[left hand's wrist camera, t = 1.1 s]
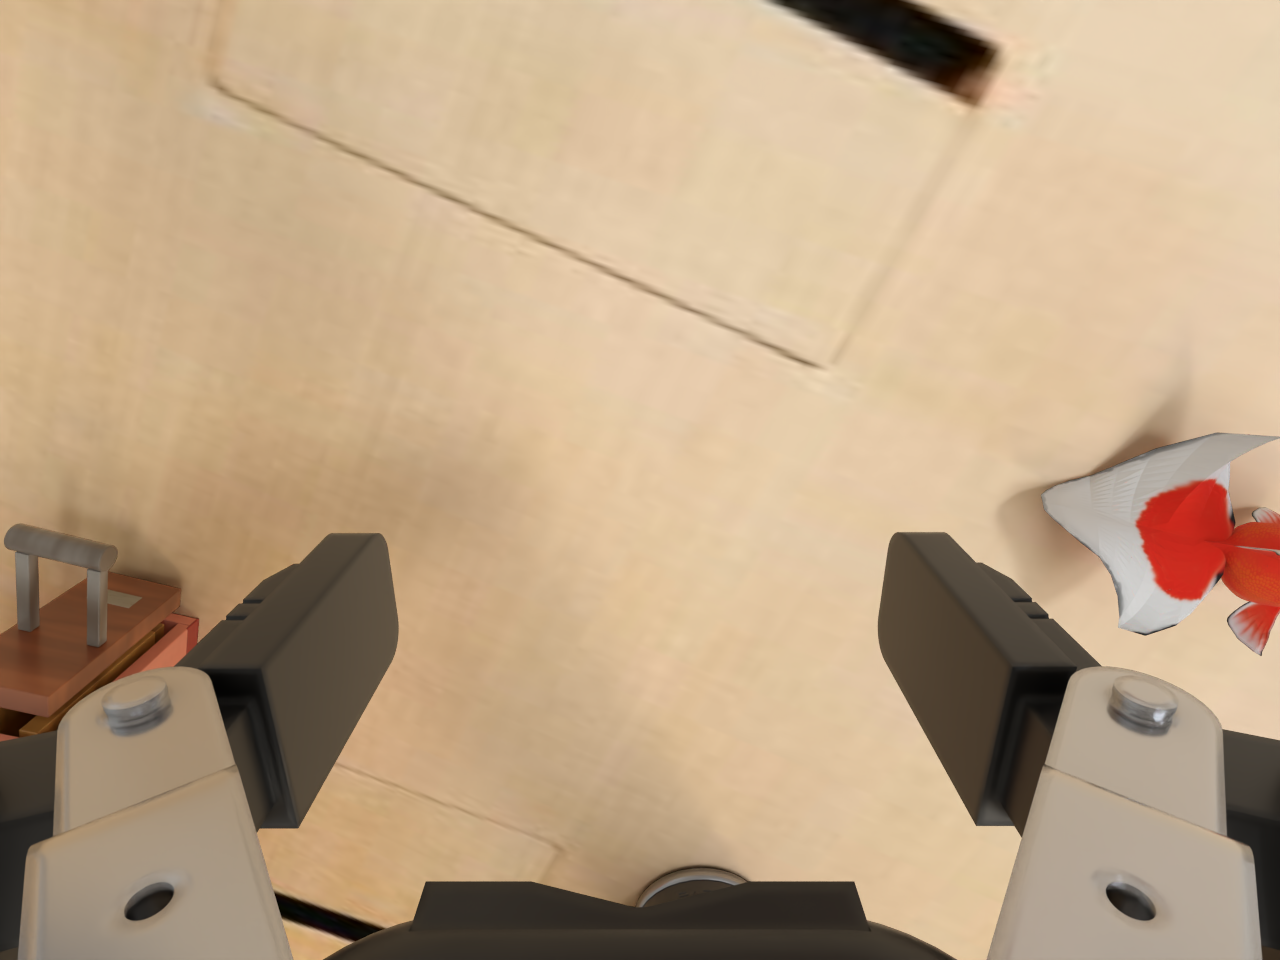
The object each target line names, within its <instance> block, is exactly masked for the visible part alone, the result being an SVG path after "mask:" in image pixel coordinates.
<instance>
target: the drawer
mask: <svg viewBox="0 0 1280 960" xmlns="http://www.w3.org/2000/svg"><path fill="white" fill-rule="evenodd" d="M4 545H5V547H6V548H7V549H9V550H13V551H17V552H15V562H16V590H17V618H18V623H17V624H16V625H14V626H13V627H11V628H10V629H8V630H7V631H5V632H4V633H2V634H1V635H0V734H5V735H10V736H15V737H19V738H21V737H26V736H31V735H36V734H41V733H46V732H51V731H56V730H58V726H59V724H60V722H61V720H62V718H63V717H64V716H65V715H66V713H67V712H68V711H69V710H70V709H71V708H72V707H73V706H74V705H75V704H77V703H78V702H79V701H81V700H82V699H83V698H85V697H86V696H88V695H89V694H91V693H92V692H94V691H96V690H97V689H99V688H101V687H103V686H105V685H107V684H109V683H111V682H112V681H114V680H115V679H116V678H117V677H118V676H119V675H120V674H122V673H123V672H124V671H125V670H126V669H127V668H128V667H129V666H131V665H132V664H133V663H134V662H135V661H136V660H137V659H138V658H140V657H141V656H142V655H143V654H144V653H145V652H146V651H148V650H149V649H150V648H151V647H152V646H153V645H154V644H155V643H157V642H158V641H159V640H160V639H161V638H162V637H163V636H164V624H162V623H160V622H162V621H163V620H164V619H165V618H166V617H167V616H169V615H170V614H171V613H172V612H173V611H175V610H176V609H177V608H178V607H179V606H180V598H181V589H180V588H176V587H171V586H167V585H163V584H159V583H155V582H150V581H146V580H142V579H138V578H134V577H129V576H125V575H121V574H117V573H113V572H108V570H109V569H110V568H111V567H112V566H113V565H114V563H115V561H116V559H117V555H118V551H117V548H116V547H115V546H113V545H108V544H104V543H100V542H96V541H92V540H88V539H84V538H80V537H75V536H71V535H67V534H63V533H59V532H55V531H51V530H47V529H42V528H38V527H34V526H30V525H26V524H16V525H14V526H12V527H11V528H10V529H9V530H8V532H7V533H6V535H5V538H4ZM38 557H42V558H47V559H51V560H55V561H59V562H63V563H68V564H72V565H76V566H80V567H84V568H89V569H88V570H87V578H86V579H85V580H83V581H82V582H80V583H78V584H77V585H75V586H74V587H72V588H71V589H69V590H68V591H66V592H65V593H63V594H62V595H60V596H59V597H57V598H56V599H54V600H53V601H51V602H49V603H48V604H46V605H45V606H43V607H42V608H40V609H39V575H38Z"/></svg>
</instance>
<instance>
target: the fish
mask: <svg viewBox="0 0 1280 960" xmlns="http://www.w3.org/2000/svg"><path fill="white" fill-rule="evenodd" d="M1279 438H1280V437H1275V436H1260V435H1245V434H1230V433H1214V434H1210V435H1206V436H1202V437H1198V438H1195V439H1191V440H1187V441H1183V442H1179V443H1175V444H1171V445H1167V446H1164V447H1160V448H1156V449H1154V450H1151V451H1149V452H1146V453H1144V454H1142V455H1139V456H1137V457H1134V458H1132V459H1129V460H1127V461H1125V462H1122V463H1120V464H1117V465H1115V466H1113V467H1110V468H1108V469H1105V470H1103V471H1101V472H1098V473H1096V474H1093V475H1091V476H1087V477H1083V478H1079V479H1074V480H1070V481H1068V482H1065V483H1062V484H1059V485H1056V486H1054V487H1052V488H1050V489H1048V490H1046V491H1045V492H1044V493H1043V494H1042V495H1041V497H1042V502H1043V506H1044V510H1045V511H1046V512H1047V513H1048V514H1049V515H1050V516H1051V517H1052V518H1053V519H1054V520H1055V521H1056V522H1057V523H1058V524H1060V525H1061V526H1062V527H1063V528H1064V529H1066V530H1067V531H1068V532H1069V533H1070V534H1072V535H1073V536H1074V537H1075V538H1076V539H1077V540H1079V541H1080V542H1081V543H1082V544H1083V545H1085V546H1086V547H1087V548H1088V549H1090V550H1091V551H1092V552H1094V553H1095V554H1096V555H1097V556H1099V557H1100V559H1101V561H1102V562H1103V564H1104V565H1105V567H1106V568H1107V570H1108V571H1109V573H1110V574H1111V577H1112V580H1113V583H1114V586H1115V589H1116V592H1117V595H1118V605H1119V625H1118V628H1122V629H1125V630H1128V631H1132V632H1135V633H1138V634H1142V635H1145V636H1146V635H1149V634H1152V633H1155V632H1158V631H1161V630H1164V629H1167V628H1170V627H1173V626H1176V625H1177V624H1178V623H1179V622H1181V621H1182V620H1183V619H1184V618H1186V617H1187V616H1188V615H1189V614H1191V613H1192V612H1193V610H1194V609H1195V608H1196V607H1197V606H1198V605H1199V604H1200V603H1201V601H1202V600H1203V599H1204V598H1205V597H1206V595H1207V594H1208V593H1209V592H1210V591H1211V589H1212V588H1213V587H1214V586H1215V584H1216V583H1217V582H1218V581H1219V579H1220V578H1222V581H1223V583H1224V584H1225V585H1226V586H1227V587H1228V588H1229V589H1230V590H1231V591H1232V592H1233V593H1234V594H1235V595H1236V596H1238V597H1239V598H1241V599H1244V600H1246V601H1250V602H1248V603H1246V604H1244V605H1242V606H1241V607H1239V608H1238V609H1237V610H1235V611H1234V612H1233V613H1232V614H1231V615H1230V616H1229V617H1228V618H1227V622H1228V625H1229V627H1230V628H1231V630H1232V631H1233V632H1234V634H1235V635H1236V637H1237V638H1238V639H1239V640H1240V641H1241V642H1242V643H1244V644H1245V645H1246V646H1247V647H1249V648H1250V649H1251V650H1252V651H1254V652H1255V653H1257V654H1259V655H1260V656H1262V651H1263V649H1264V647H1265V645H1266V643H1267V640H1268V638H1269V634H1270V631H1271V629H1272V627H1273V625H1274V623H1275V620H1276V617H1277V616H1278V614H1279V613H1280V515H1279V514H1277V513H1276V512H1274V511H1272V510H1270V509H1268V508H1258V509H1256V510H1255V511H1253V513H1252V516H1253V517H1254V519H1255V520H1256V522H1249V523H1246V524H1243V525H1240V526H1238V527H1236V528H1235V529H1234V526H1235V519H1234V514H1233V510H1232V505H1231V501H1230V496H1229V492H1228V488H1229V479H1230V462H1231V461H1232V460H1234V459H1236V458H1237V457H1239V456H1241V455H1242V454H1244V453H1246V452H1248V451H1250V450H1252V449H1254V448H1256V447H1258V446H1261V445H1263V444H1265V443H1267V442H1269V441H1273V440H1276V439H1279Z"/></svg>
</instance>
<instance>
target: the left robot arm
mask: <svg viewBox="0 0 1280 960" xmlns="http://www.w3.org/2000/svg"><path fill="white" fill-rule="evenodd" d="M878 638H879V644H880V649H881V653H882V655H883V658H884V660H885V662H886V664H887V666H888V667H889V669H890V671H891V673H892V675H893V676H894V678H895V680H896V682H897V684H898V685H899V687H900V689H901V691H902V693H903V694H904V696H905V698H906V700H907V702H908V703H909V705H910V707H911V709H912V711H913V712H914V714H915V716H916V718H917V720H918V722H919V723H920V725H921V727H922V729H923V731H924V732H925V734H926V736H927V738H928V740H929V741H930V743H931V745H932V747H933V749H934V750H935V752H936V754H937V756H938V758H939V759H940V761H941V763H942V765H943V767H944V768H945V770H946V772H947V774H948V776H949V777H950V779H951V781H952V783H953V785H954V787H955V788H956V790H957V792H958V794H959V796H960V797H961V799H962V801H963V803H964V805H965V806H966V808H967V810H968V812H969V814H970V815H971V817H972V819H973V821H974V823H975V824H976V826H1015V827H1016V829H1017V831H1018V832H1019V834H1020V836H1021V837H1022V839H1021V843H1020V846H1019V850H1018V853H1017V857H1016V860H1015V864H1014V867H1013V871H1012V874H1011V877H1010V881H1009V884H1008V888H1007V891H1006V895H1005V898H1004V902H1003V905H1002V908H1001V912H1000V915H999V919H998V922H997V926H996V929H995V933H994V936H993V939H992V943H991V946H990V950H989V953H988V957H987V960H1280V740H1275V739H1270V738H1264V737H1259V736H1254V735H1249V734H1244V733H1239V732H1234V731H1229V730H1224V729H1222V727H1221V724H1220V722H1219V720H1218V718H1217V717H1216V716H1215V715H1214V713H1213V712H1212V711H1211V710H1210V709H1209V708H1208V707H1207V706H1206V705H1205V704H1203V703H1202V702H1201V701H1199V700H1198V699H1197V698H1195V697H1194V696H1192V695H1191V694H1189V693H1188V692H1186V691H1184V690H1183V689H1181V688H1179V687H1177V686H1175V685H1173V684H1171V683H1168V682H1166V681H1164V680H1161V679H1159V678H1156V677H1153V676H1150V675H1148V674H1144V673H1141V672H1137V671H1133V670H1128V669H1123V668H1116V667H1102V666H1101V665H1100V664H1099V663H1098V662H1097V661H1096V660H1095V659H1094V658H1093V657H1092V656H1091V655H1090V654H1089V653H1088V652H1087V651H1086V650H1084V649H1083V648H1082V647H1081V646H1080V645H1079V644H1078V643H1077V642H1076V641H1075V640H1074V639H1073V638H1072V637H1071V636H1070V635H1069V634H1068V633H1067V632H1066V631H1065V630H1064V629H1063V628H1062V627H1061V626H1060V625H1059V624H1058V623H1057V622H1056V621H1055V620H1054V619H1049V617H1048V614H1047V613H1046V612H1045V611H1044V610H1043V609H1042V608H1041V607H1040V606H1039V605H1038V604H1037V603H1036V602H1032V598H1031V597H1030V596H1029V595H1028V594H1027V593H1026V592H1025V591H1024V590H1023V589H1022V588H1021V587H1020V586H1019V585H1017V584H1016V583H1015V582H1014V581H1013V580H1012V579H1011V578H1009V577H1007V576H1005V575H1003V574H1002V573H1000V572H998V571H996V570H994V569H992V568H990V567H989V566H987V565H985V564H983V563H976V562H975V561H974V560H973V559H972V558H971V557H970V556H969V555H968V554H967V553H966V552H965V551H964V550H963V549H962V548H961V547H960V546H959V545H958V544H957V543H956V542H955V541H954V540H953V539H952V538H951V537H950V536H949V535H948V534H947V533H945V532H897V533H895V534H894V535H893V536H892V538H891V540H890V543H889V547H888V553H887V560H886V567H885V574H884V581H883V588H882V596H881V603H880V610H879V617H878ZM397 642H398V616H397V609H396V602H395V595H394V588H393V581H392V574H391V567H390V560H389V553H388V547H387V544H386V541H385V539H384V537H383V536H382V535H381V534H379V533H331V534H329V535H328V536H326V537H325V538H324V539H323V540H322V541H321V542H320V543H319V544H318V545H317V546H316V547H315V548H314V550H313V551H312V552H311V553H310V554H309V555H308V556H307V557H306V558H305V559H304V560H303V561H302V562H301V563H300V564H293V565H291V566H289V567H287V568H285V569H284V570H282V571H280V572H278V573H276V574H274V575H272V576H271V577H269V578H267V579H265V580H263V581H262V582H261V583H260V584H259V585H258V586H257V587H256V588H255V589H254V590H253V591H252V592H251V593H250V594H249V595H248V596H247V597H246V598H245V599H243V604H238V605H237V606H236V607H235V608H234V609H233V610H232V611H231V612H230V613H229V614H228V615H227V616H226V620H222V621H221V622H220V623H219V624H217V625H216V626H215V627H214V628H213V629H212V630H211V631H210V632H209V633H208V634H207V635H206V636H205V637H204V638H203V639H202V640H201V641H200V642H199V643H198V644H197V645H196V646H195V647H194V648H193V649H191V650H190V651H189V652H188V653H187V654H186V655H185V656H184V657H183V658H182V659H181V660H180V661H179V662H178V663H177V664H176V665H175V666H174V667H164V668H157V669H152V670H147V671H143V672H139V673H136V674H132V675H130V676H127V677H124V678H121V679H119V680H116V681H114V682H112V683H109V684H107V685H105V686H103V687H101V688H99V689H97V690H96V691H94V692H92V693H91V694H89V695H88V696H86V697H85V698H83V699H82V700H81V701H79V702H78V703H77V704H75V705H74V706H73V707H72V708H71V709H70V710H69V711H68V712H67V713H66V715H65V716H64V717H63V718H62V720H61V722H60V724H59V726H58V730H56V731H51V732H46V733H41V734H36V735H31V736H26V737H21V738H16V739H11V740H5V741H0V960H293V957H292V953H291V950H290V946H289V943H288V939H287V936H286V933H285V929H284V926H283V922H282V919H281V915H280V912H279V908H278V905H277V902H276V898H275V895H274V891H273V888H272V884H271V881H270V877H269V874H268V871H267V867H266V864H265V860H264V857H263V853H262V850H261V846H260V843H259V839H258V836H257V832H258V830H259V828H299V826H300V824H301V822H302V821H303V819H304V817H305V815H306V814H307V812H308V810H309V808H310V806H311V805H312V803H313V801H314V799H315V797H316V796H317V794H318V792H319V790H320V789H321V787H322V785H323V783H324V781H325V780H326V778H327V776H328V774H329V772H330V771H331V769H332V767H333V765H334V764H335V762H336V760H337V758H338V756H339V755H340V753H341V751H342V749H343V748H344V746H345V744H346V742H347V740H348V739H349V737H350V735H351V733H352V731H353V730H354V728H355V726H356V724H357V723H358V721H359V719H360V717H361V715H362V714H363V712H364V710H365V708H366V706H367V705H368V703H369V701H370V699H371V698H372V696H373V694H374V692H375V690H376V689H377V687H378V685H379V683H380V681H381V680H382V678H383V676H384V674H385V673H386V671H387V669H388V667H389V665H390V664H391V662H392V660H393V657H394V655H395V651H396V647H397ZM323 960H957V959H955V958H953V957H951V956H950V955H948V954H946V953H945V952H943V951H941V950H940V949H938V948H936V947H934V946H932V945H930V944H928V943H926V942H924V941H922V940H920V939H918V938H915V937H913V936H911V935H909V934H907V933H904V932H901V931H899V930H896V929H893V928H890V927H887V926H885V925H882V924H879V923H875V922H871V921H867V920H866V917H865V914H864V911H863V908H862V904H861V901H860V898H859V895H858V892H857V889H856V886H855V883H854V882H747V881H746V880H744V879H743V878H741V877H739V876H737V875H735V874H732V873H729V872H726V871H722V870H718V869H711V868H693V869H686V870H681V871H677V872H674V873H671V874H668V875H666V876H664V877H662V878H660V879H658V880H657V881H655V882H654V883H652V884H651V885H650V886H649V887H648V888H647V889H646V890H645V891H644V892H643V893H642V895H641V896H640V898H639V900H638V902H637V904H636V907H632V906H627V905H623V904H619V903H615V902H611V901H607V900H603V899H599V898H595V897H591V896H587V895H583V894H579V893H575V892H571V891H567V890H563V889H559V888H555V887H551V886H547V885H543V884H539V883H535V882H426V883H425V886H424V889H423V892H422V895H421V898H420V901H419V904H418V908H417V911H416V914H415V917H414V920H413V921H409V922H405V923H401V924H398V925H395V926H393V927H390V928H387V929H384V930H381V931H379V932H376V933H373V934H371V935H369V936H367V937H365V938H362V939H360V940H358V941H356V942H354V943H352V944H350V945H348V946H346V947H344V948H342V949H340V950H339V951H337V952H335V953H334V954H332V955H330V956H329V957H327V958H325V959H323Z"/></svg>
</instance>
